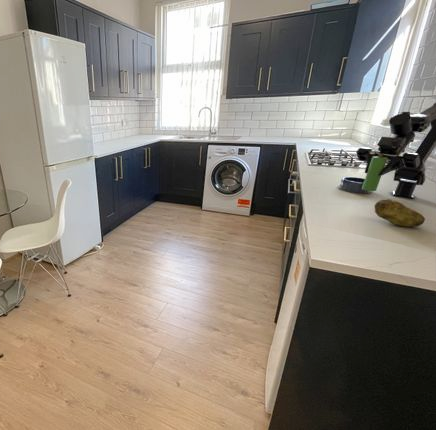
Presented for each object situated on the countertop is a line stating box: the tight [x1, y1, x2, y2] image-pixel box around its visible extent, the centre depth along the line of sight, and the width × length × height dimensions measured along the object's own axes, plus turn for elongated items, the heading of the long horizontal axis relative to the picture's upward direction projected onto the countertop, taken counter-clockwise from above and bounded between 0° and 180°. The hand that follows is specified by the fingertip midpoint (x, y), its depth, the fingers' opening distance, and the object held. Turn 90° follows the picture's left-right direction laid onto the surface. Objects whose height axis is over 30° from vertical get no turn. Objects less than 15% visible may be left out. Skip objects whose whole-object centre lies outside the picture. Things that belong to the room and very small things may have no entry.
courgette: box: [362, 154, 388, 192], centre depth 110 cm, size 4×4×14 cm
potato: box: [374, 198, 426, 228], centre depth 96 cm, size 8×13×8 cm, turn 38°
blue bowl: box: [338, 176, 371, 194], centre depth 133 cm, size 12×12×5 cm
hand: (372, 173), depth 109 cm, fingers closed on courgette, 4 cm apart
